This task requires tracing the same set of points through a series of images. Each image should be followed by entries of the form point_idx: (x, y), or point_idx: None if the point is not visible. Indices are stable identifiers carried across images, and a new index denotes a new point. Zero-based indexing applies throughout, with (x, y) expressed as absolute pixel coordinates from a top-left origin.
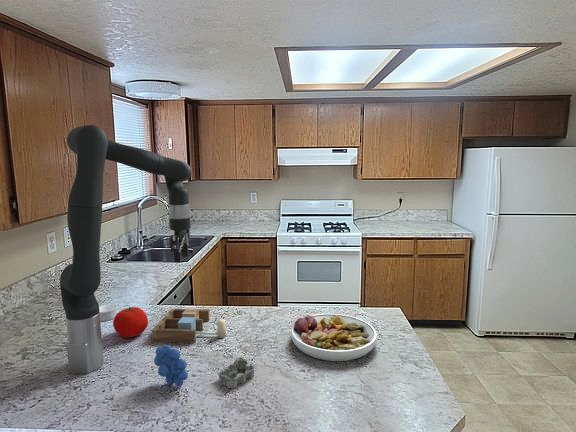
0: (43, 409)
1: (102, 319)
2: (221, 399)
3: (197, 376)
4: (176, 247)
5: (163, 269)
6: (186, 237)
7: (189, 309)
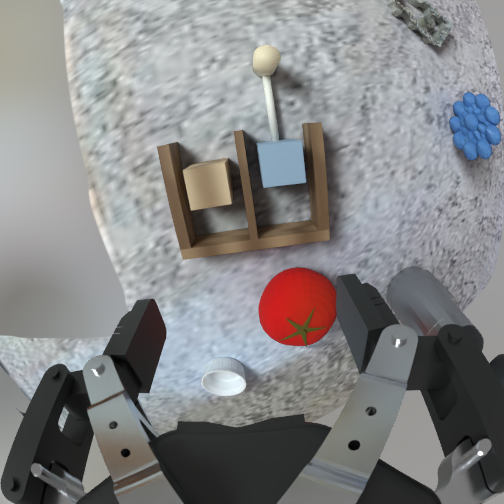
0: (479, 266)
1: (243, 369)
2: (461, 42)
3: (428, 82)
4: (479, 362)
5: (20, 364)
6: (169, 480)
7: (195, 196)
